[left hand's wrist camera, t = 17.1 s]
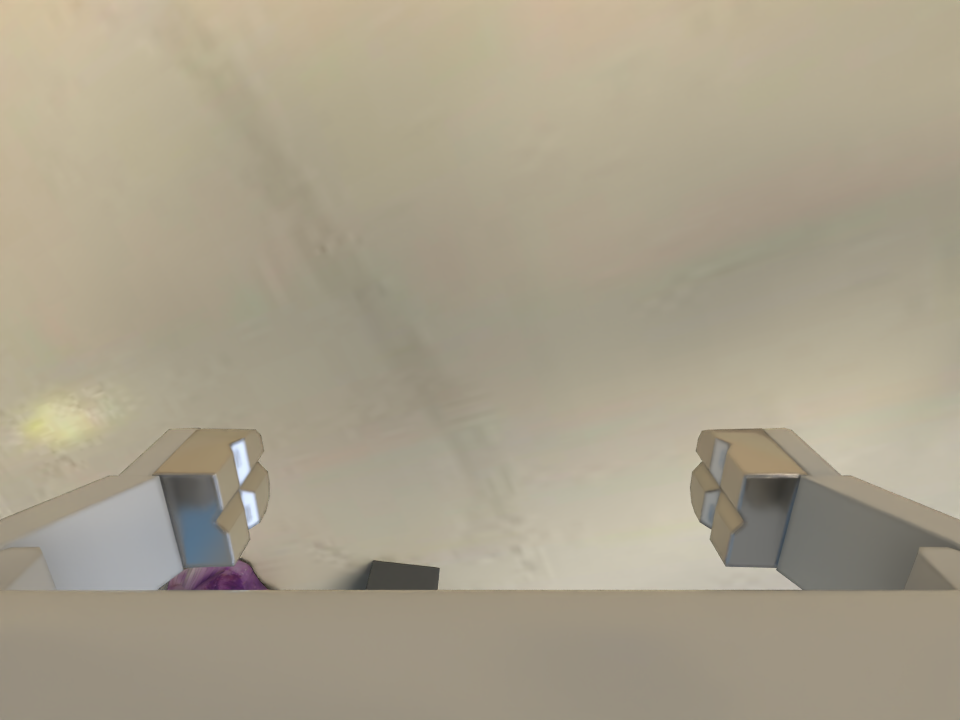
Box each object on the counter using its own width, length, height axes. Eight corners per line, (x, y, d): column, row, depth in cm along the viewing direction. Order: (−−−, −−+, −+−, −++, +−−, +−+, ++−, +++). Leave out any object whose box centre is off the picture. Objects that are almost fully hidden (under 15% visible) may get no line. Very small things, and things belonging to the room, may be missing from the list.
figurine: (146, 592, 51) (22, 759, 38) (210, 532, 49) (103, 688, 35) (227, 644, 54) (139, 819, 40) (292, 591, 51) (222, 758, 38)
